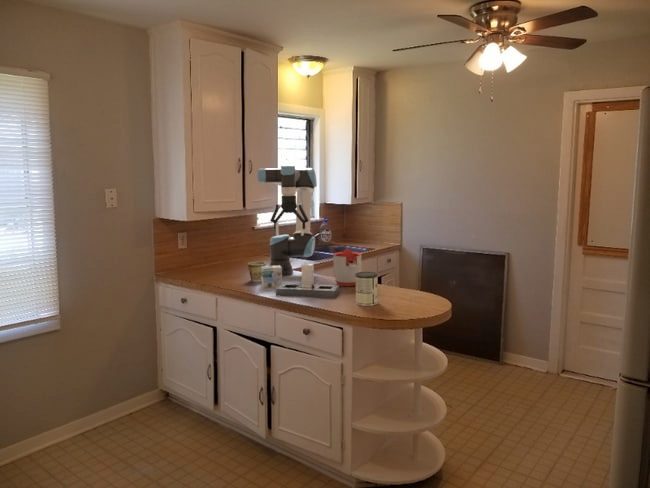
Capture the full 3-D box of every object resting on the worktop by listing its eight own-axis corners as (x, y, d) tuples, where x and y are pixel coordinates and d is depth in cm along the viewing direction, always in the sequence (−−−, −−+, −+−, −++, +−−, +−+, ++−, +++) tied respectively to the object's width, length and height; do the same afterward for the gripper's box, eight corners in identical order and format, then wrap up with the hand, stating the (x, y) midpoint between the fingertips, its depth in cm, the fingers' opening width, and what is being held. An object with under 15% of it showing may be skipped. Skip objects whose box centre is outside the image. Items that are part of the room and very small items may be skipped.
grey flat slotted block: (283, 289, 288) (283, 283, 287) (339, 291, 281) (339, 285, 280) (275, 295, 275) (275, 288, 275) (334, 297, 268) (334, 290, 268)
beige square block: (304, 292, 281) (304, 263, 279) (314, 292, 280) (313, 263, 278) (302, 294, 276) (301, 265, 274) (311, 295, 275) (311, 265, 273)
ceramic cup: (262, 282, 306) (262, 265, 305) (245, 282, 308) (245, 264, 307) (269, 278, 319) (269, 261, 317) (253, 277, 321) (252, 260, 319)
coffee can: (354, 300, 262) (354, 271, 260) (376, 300, 262) (376, 271, 260) (356, 306, 252) (356, 276, 250) (378, 305, 252) (378, 275, 250)
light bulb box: (263, 288, 292) (262, 268, 291) (261, 285, 299) (260, 266, 297) (282, 286, 295) (282, 267, 294) (280, 284, 301) (279, 264, 300)
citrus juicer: (338, 289, 287) (338, 251, 284) (329, 282, 304) (329, 246, 301) (367, 287, 291) (367, 249, 288) (356, 280, 308) (356, 245, 305)
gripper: (263, 195, 286) (265, 236, 289) (310, 195, 281) (311, 236, 284) (267, 194, 293) (269, 233, 296) (313, 194, 288) (314, 234, 292)
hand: (289, 235), depth 290 cm, fingers open, 13 cm apart
